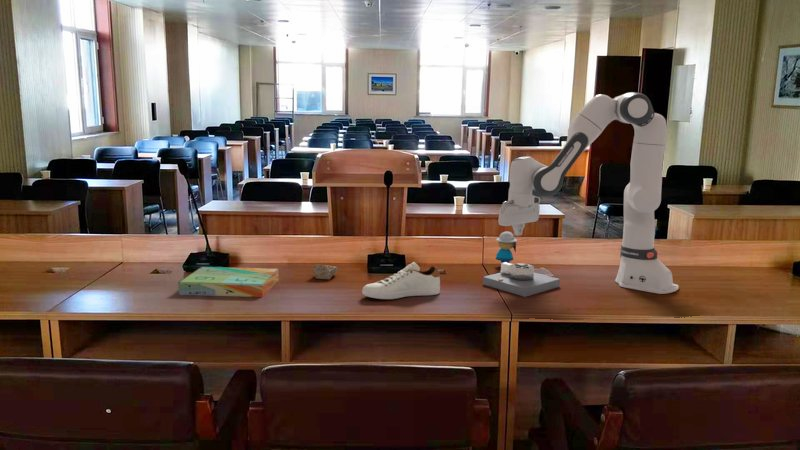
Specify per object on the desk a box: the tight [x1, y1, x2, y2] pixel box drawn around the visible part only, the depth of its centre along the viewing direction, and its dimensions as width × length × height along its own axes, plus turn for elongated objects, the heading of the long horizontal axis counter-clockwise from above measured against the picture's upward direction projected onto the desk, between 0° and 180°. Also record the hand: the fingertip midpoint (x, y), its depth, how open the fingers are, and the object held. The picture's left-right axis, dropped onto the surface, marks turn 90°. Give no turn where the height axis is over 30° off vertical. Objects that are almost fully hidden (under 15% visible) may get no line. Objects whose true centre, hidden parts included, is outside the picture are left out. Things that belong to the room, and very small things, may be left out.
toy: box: [495, 231, 518, 264], centre depth 261 cm, size 8×9×15 cm
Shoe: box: [361, 261, 441, 300], centre depth 221 cm, size 10×29×12 cm, turn 112°
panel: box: [482, 270, 561, 298], centre depth 235 cm, size 20×20×4 cm
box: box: [177, 266, 279, 298], centre depth 231 cm, size 22×5×30 cm
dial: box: [500, 262, 535, 280], centre depth 236 cm, size 14×9×4 cm, turn 40°
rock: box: [312, 264, 339, 281], centre depth 245 cm, size 10×8×8 cm
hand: (517, 235), depth 241 cm, fingers closed
